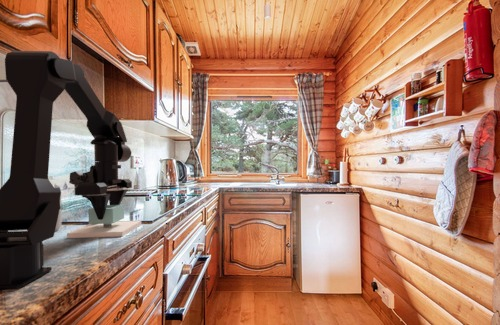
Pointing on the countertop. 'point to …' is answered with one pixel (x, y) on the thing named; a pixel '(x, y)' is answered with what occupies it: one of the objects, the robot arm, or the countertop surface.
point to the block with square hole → (107, 215)
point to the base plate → (105, 229)
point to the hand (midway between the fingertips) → (107, 216)
